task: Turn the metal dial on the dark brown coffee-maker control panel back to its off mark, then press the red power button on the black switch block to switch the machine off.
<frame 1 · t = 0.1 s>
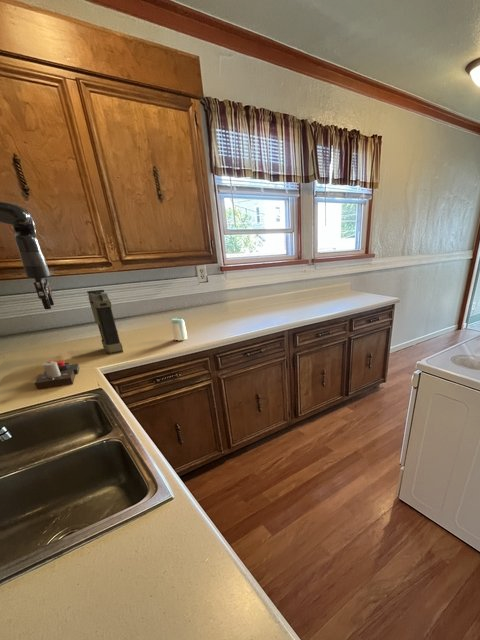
hand: (49, 307, 133), 28 cm above the worktop, tool pointing down, fingers open, 8 cm apart
can: (181, 340, 189), on the worktop
power button: (59, 363, 141), point 4 cm above the worktop, slide at 0.1 cm
switch block: (62, 373, 143), on the worktop
dial: (52, 369, 131), point 6 cm above the worktop, hinge at 90.0°
device: (113, 350, 172), on the worktop
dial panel: (57, 382, 134), on the worktop
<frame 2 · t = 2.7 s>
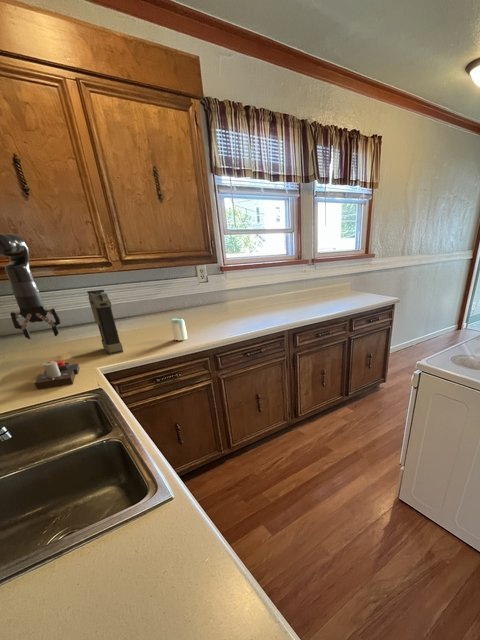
hand: (43, 337, 127), 19 cm above the worktop, tool pointing down, fingers open, 8 cm apart
nothing on the worktop moved.
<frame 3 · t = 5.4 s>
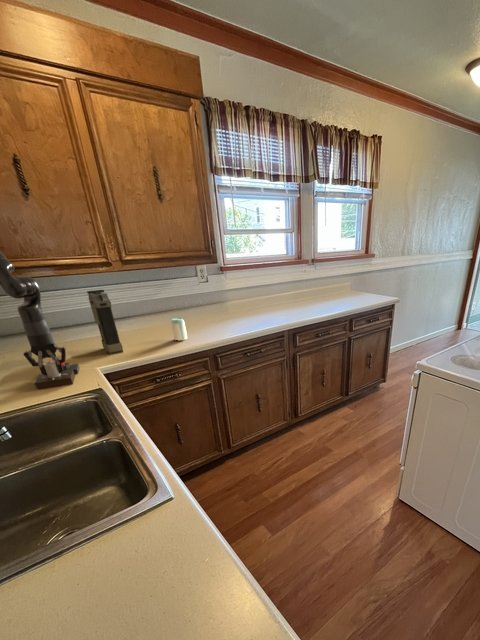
hand: (53, 373, 132), 4 cm above the worktop, tool pointing down, fingers closed on dial, 4 cm apart
dial: (52, 369, 131), point 6 cm above the worktop, hinge at 89.9°, touching gripper
everything else where it was.
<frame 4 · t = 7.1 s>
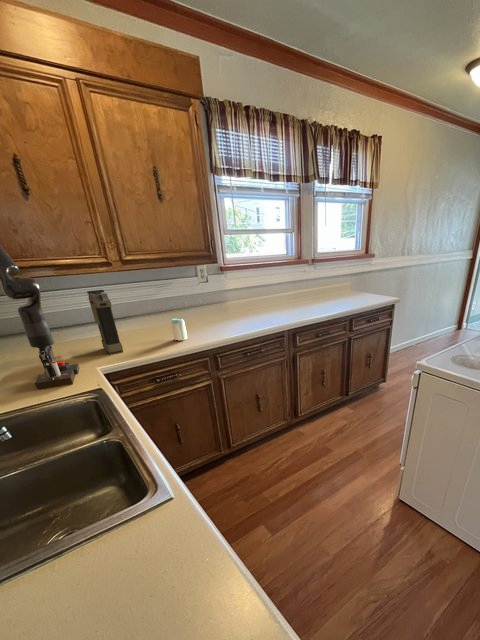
hand: (54, 374, 132), 4 cm above the worktop, tool pointing down, fingers open, 4 cm apart
dial: (52, 369, 131), point 6 cm above the worktop, hinge at -1.4°
everything else where it was.
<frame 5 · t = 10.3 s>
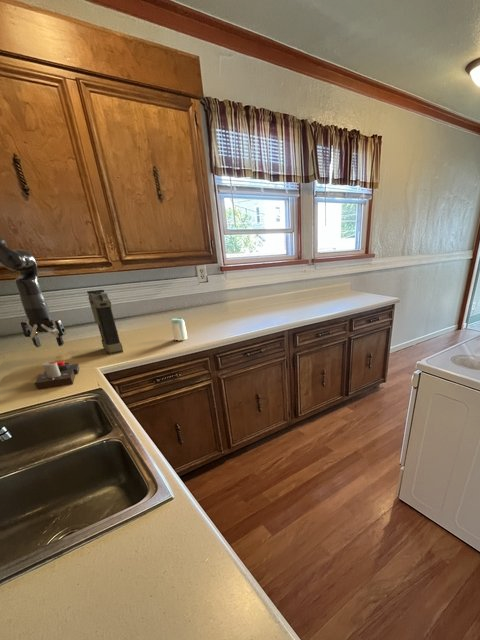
hand: (49, 346, 134), 14 cm above the worktop, tool pointing down, fingers open, 8 cm apart
nothing on the worktop moved.
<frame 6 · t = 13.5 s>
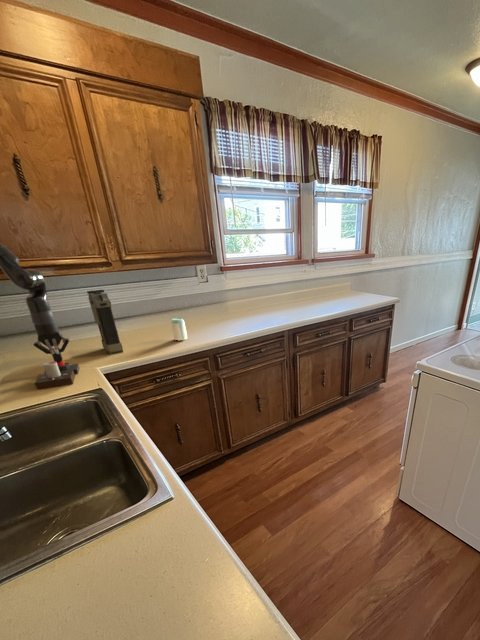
hand: (59, 361, 141), 5 cm above the worktop, tool pointing down, fingers closed
power button: (59, 363, 141), point 4 cm above the worktop, slide at 0.1 cm, touching gripper
everything else where it was.
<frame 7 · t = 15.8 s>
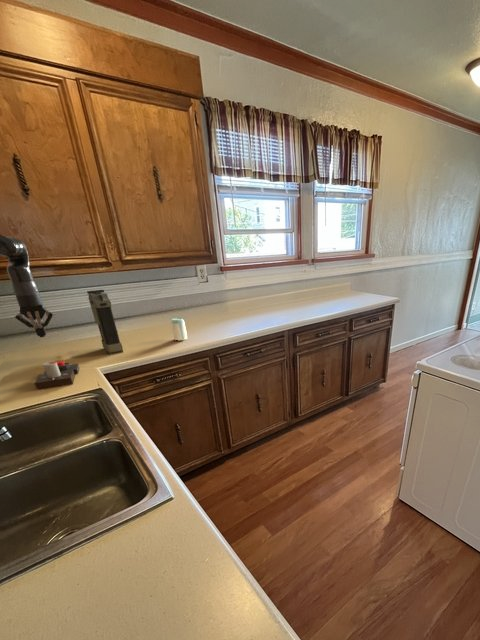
hand: (42, 336, 135), 17 cm above the worktop, tool pointing down, fingers closed
power button: (59, 363, 141), point 4 cm above the worktop, slide at 0.1 cm
everything else where it was.
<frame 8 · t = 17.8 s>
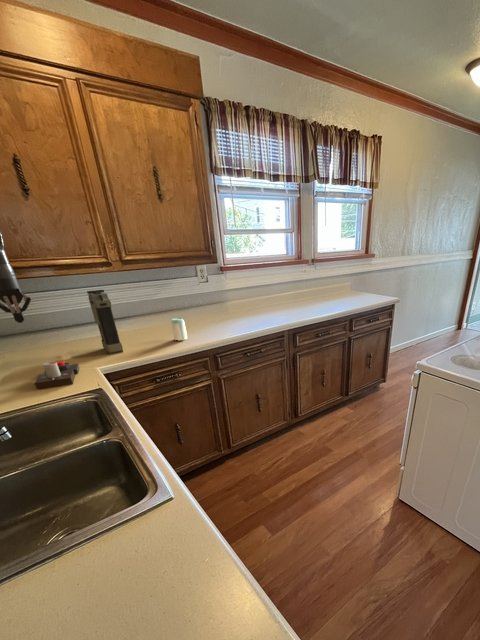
hand: (20, 322, 131), 23 cm above the worktop, tool pointing down, fingers closed
nothing on the worktop moved.
at the end: dial at -1° (first picture: +90°); power button pushed in 1.1 cm at the most during the clip, back to where it started at the end; power button slide at 0.1 cm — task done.
